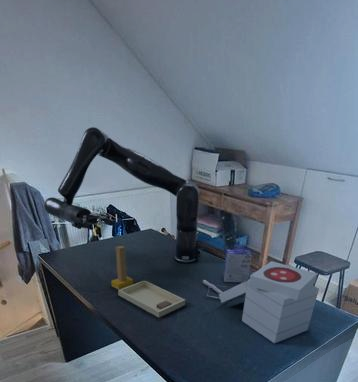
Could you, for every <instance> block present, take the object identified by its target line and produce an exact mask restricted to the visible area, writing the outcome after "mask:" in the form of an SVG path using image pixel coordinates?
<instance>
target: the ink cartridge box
mask: <svg viewBox="0 0 358 382" xmlns="http://www.w3.org/2000/svg"><path fill="white" fill-rule="evenodd" d="M238 247H240V248H238ZM225 251H226V252H225V263H224V271H223V283H240V284H241V283H243V282H246V281H248V280H249V279H250V271H251V263H252V259H253V257H252V256H253V253H252V251H251V250H250V249H245V245H244V244H234V248H233V249H226V250H225Z"/></svg>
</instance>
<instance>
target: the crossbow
mask: <svg viewBox="0 0 358 382" xmlns="http://www.w3.org/2000/svg"><path fill="white" fill-rule="evenodd" d="M202 284H203V285H205V286H207V287H208V289H210V288H211V289H212V290H213V291H215V292H216V293H218V295H219V294H221V293H223V292H224V291H222V290H221V289H220V288H218V287H217V286H219V287H220V285H218V284H216V285H215V284H213V283H210V282H209V281H207V280H206V279H202ZM222 287H224V288H226V286H225V285H222ZM228 288H229V289H231V288H232V287H230V286H228ZM209 291H210V290H208V292H207V295H206V297H208V298H213V299H219V296H218V297H217V296H213V295H209Z"/></svg>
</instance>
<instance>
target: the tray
mask: <svg viewBox="0 0 358 382" xmlns="http://www.w3.org/2000/svg"><path fill="white" fill-rule="evenodd" d="M117 294H118V296H119V297H121V298H122V299H124V300H126V301H127V302H130V303H132V304H134V305H136V306H137V307H139V308H141V309H143V310H145V311H146V312H148V313H149V314H152V315H153V316H155V317H157V318H161V317H163V316H165V315H167V314H169V313H172V312H173V311H176V310H177V309H180V308H182V307H184V306H186V299H185V298H183V297H181V296H179V295H177V294H175V293H172V292H170V291H168V290H166V289H164V288H162V287H160V286H158V285H155V284H154V283H152V282H149V281H147V280H141V281H139V282H136V283H133V285H131V286H128V287H125V288H123V289H120V290H118V289H117ZM166 300H167V301H168V302H170V303H172V305H170V306H168V307H165V308H163V309H159V308H157V304H159V303H161V302H163V301H166Z"/></svg>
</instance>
